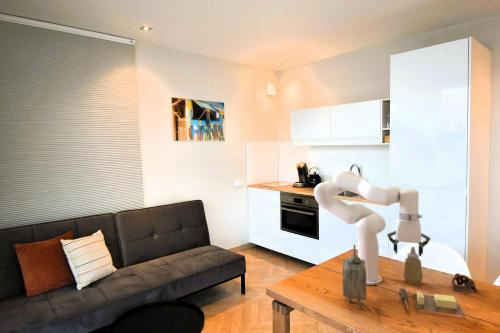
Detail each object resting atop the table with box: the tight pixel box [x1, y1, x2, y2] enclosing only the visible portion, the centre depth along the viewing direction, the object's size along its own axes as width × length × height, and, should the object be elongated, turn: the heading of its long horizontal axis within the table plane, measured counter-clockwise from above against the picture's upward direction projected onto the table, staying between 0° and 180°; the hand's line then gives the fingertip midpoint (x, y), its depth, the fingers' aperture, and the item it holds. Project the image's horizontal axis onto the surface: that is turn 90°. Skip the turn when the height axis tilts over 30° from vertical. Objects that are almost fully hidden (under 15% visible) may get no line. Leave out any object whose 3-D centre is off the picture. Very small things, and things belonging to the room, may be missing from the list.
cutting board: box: [411, 292, 465, 317], centre depth 126 cm, size 16×14×1 cm
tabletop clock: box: [342, 244, 367, 310], centre depth 131 cm, size 14×9×25 cm, turn 163°
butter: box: [433, 293, 458, 309], centre depth 125 cm, size 7×5×3 cm
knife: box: [399, 287, 409, 313], centre depth 129 cm, size 2×18×3 cm, turn 160°
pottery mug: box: [451, 272, 478, 293], centre depth 139 cm, size 12×10×8 cm
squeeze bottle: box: [403, 246, 424, 285], centre depth 147 cm, size 8×8×18 cm
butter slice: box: [416, 291, 424, 305], centre depth 128 cm, size 2×5×3 cm, turn 158°
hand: (407, 253), depth 139 cm, fingers open, 9 cm apart
